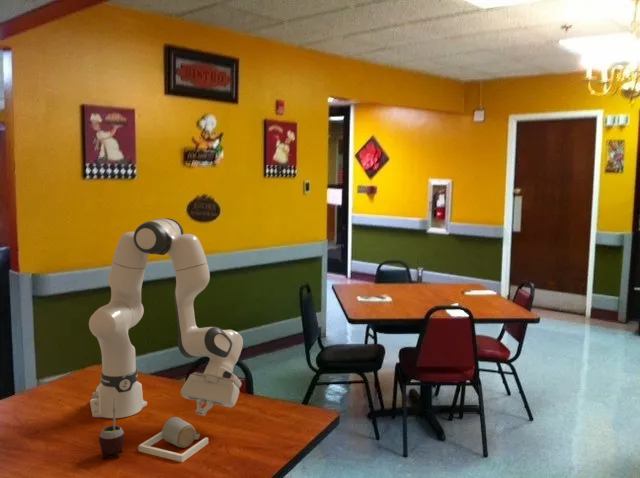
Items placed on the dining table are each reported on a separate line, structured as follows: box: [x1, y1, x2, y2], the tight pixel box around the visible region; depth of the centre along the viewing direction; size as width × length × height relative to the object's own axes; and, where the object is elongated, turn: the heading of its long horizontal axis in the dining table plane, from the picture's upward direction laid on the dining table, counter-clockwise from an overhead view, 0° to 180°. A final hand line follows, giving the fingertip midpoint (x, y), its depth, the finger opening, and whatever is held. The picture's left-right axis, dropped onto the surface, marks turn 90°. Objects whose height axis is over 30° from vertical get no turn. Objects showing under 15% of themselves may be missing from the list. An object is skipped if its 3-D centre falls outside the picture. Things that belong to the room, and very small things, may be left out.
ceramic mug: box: [161, 416, 201, 449], centre depth 179 cm, size 11×8×8 cm
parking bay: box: [137, 431, 209, 463], centre depth 176 cm, size 16×13×2 cm
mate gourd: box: [98, 399, 126, 460], centre depth 171 cm, size 8×8×15 cm
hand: (199, 414), depth 188 cm, fingers closed
